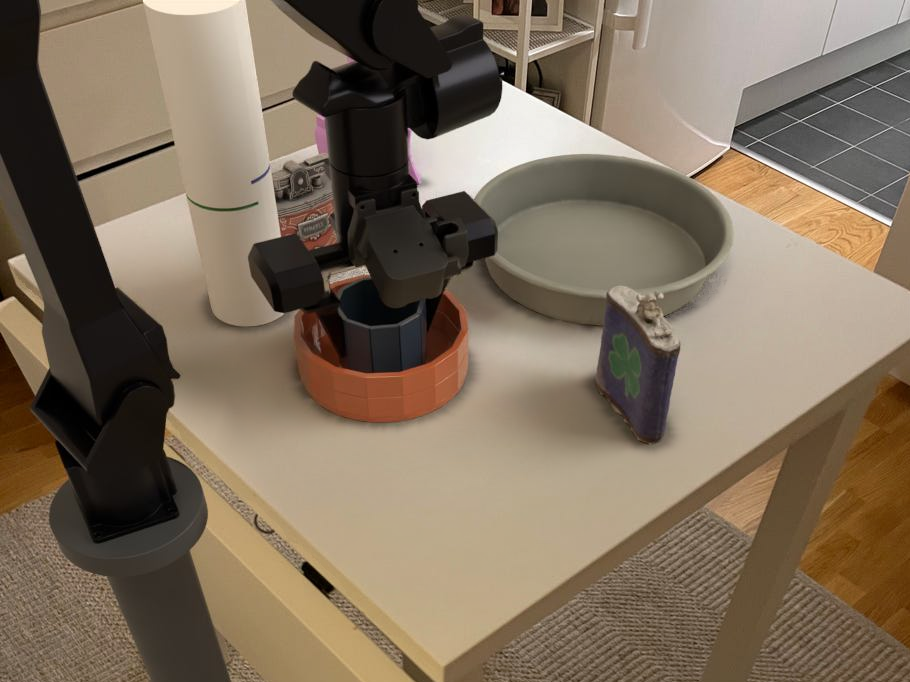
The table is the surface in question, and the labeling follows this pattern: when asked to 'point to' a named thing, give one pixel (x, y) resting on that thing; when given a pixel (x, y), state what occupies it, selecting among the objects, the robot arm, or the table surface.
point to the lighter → (305, 201)
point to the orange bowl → (385, 391)
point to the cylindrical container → (218, 144)
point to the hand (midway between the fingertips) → (382, 343)
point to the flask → (637, 361)
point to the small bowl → (380, 331)
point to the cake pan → (602, 233)
